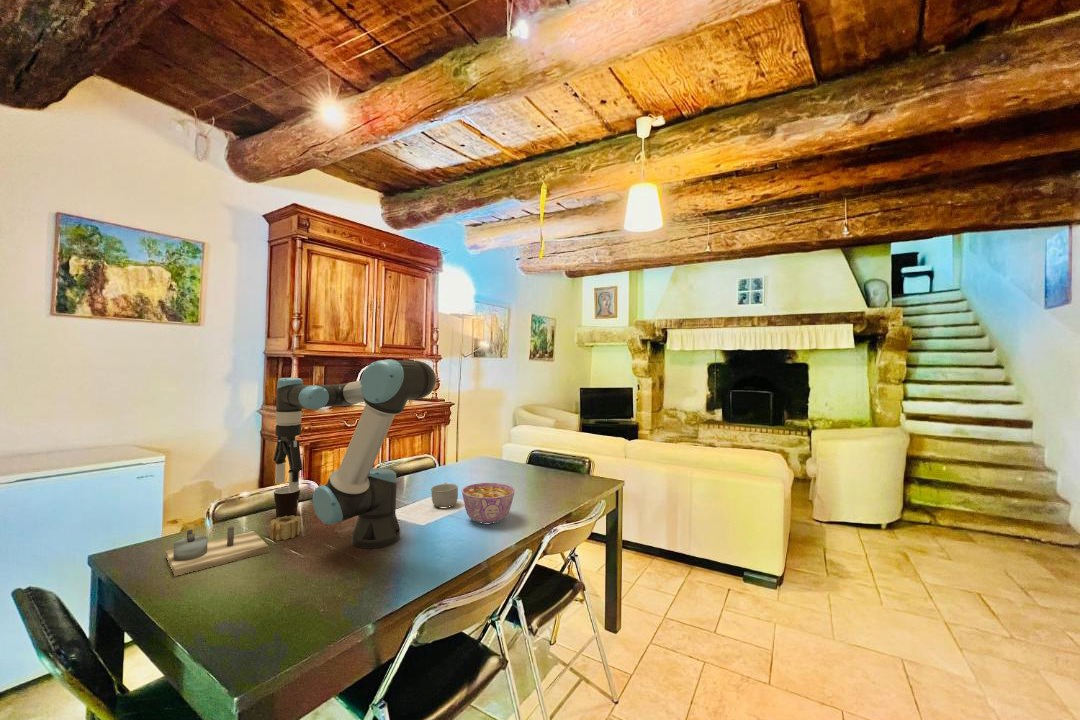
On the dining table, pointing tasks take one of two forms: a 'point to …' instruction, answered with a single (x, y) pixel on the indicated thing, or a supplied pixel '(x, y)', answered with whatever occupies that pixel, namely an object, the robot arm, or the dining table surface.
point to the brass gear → (285, 527)
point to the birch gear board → (213, 551)
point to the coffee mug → (286, 502)
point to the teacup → (444, 495)
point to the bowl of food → (488, 501)
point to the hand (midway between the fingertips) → (286, 487)
